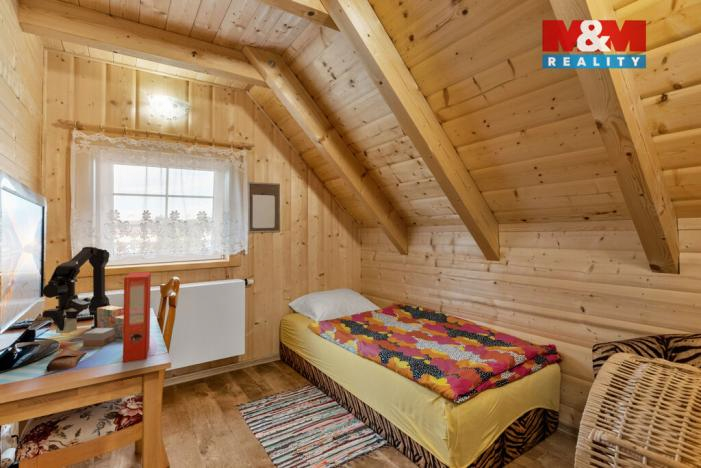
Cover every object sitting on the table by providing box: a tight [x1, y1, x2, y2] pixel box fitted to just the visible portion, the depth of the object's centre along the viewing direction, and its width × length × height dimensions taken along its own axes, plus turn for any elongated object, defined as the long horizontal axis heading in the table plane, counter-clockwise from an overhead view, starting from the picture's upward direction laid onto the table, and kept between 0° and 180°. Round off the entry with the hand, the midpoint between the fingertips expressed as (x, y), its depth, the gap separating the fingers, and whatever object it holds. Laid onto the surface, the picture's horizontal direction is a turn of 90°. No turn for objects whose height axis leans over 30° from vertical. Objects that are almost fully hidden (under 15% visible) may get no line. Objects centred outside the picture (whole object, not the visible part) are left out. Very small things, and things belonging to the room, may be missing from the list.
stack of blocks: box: [97, 305, 124, 339], centre depth 167 cm, size 21×6×12 cm, turn 62°
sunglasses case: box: [46, 347, 87, 373], centre depth 131 cm, size 18×7×7 cm
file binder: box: [122, 271, 152, 363], centre depth 140 cm, size 8×17×32 cm, turn 27°
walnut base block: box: [82, 335, 115, 347], centre depth 154 cm, size 8×8×3 cm
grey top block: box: [82, 328, 114, 341], centre depth 153 cm, size 8×8×3 cm
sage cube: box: [55, 318, 78, 334], centre depth 153 cm, size 5×5×5 cm
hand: (66, 328), depth 153 cm, fingers closed on sage cube, 5 cm apart
